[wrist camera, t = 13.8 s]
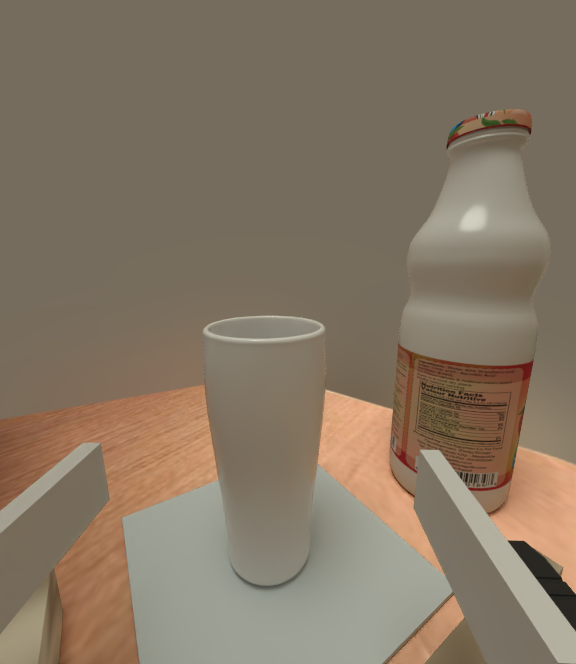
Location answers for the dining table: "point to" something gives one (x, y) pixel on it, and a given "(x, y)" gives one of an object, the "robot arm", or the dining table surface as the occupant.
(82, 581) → the dining table surface
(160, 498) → the dining table surface
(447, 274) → the fruit juice
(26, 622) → the birch walls
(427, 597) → the pad
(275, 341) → the drinking glass
